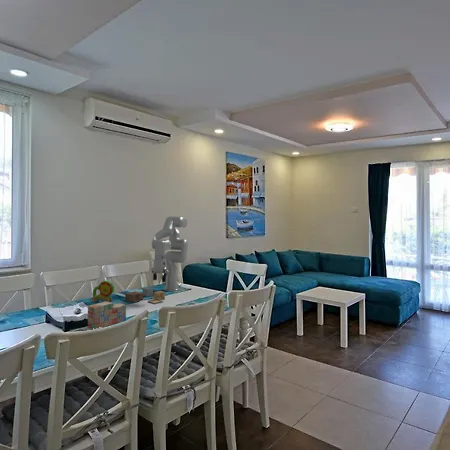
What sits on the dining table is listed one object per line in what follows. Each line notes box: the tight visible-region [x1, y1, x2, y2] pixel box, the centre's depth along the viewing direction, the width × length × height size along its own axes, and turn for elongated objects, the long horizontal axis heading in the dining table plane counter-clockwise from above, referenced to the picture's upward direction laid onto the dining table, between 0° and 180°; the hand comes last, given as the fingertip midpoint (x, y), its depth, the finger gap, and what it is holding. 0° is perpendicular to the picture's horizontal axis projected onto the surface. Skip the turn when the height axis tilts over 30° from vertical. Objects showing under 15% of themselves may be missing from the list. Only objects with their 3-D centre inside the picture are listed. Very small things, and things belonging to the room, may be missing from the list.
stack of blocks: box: [87, 301, 127, 330], centre depth 205 cm, size 21×6×12 cm, turn 145°
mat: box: [147, 299, 164, 305], centre depth 255 cm, size 8×8×1 cm
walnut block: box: [124, 290, 144, 303], centre depth 259 cm, size 9×9×5 cm
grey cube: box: [141, 286, 154, 297], centre depth 274 cm, size 6×6×6 cm
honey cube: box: [153, 290, 166, 301], centre depth 263 cm, size 6×6×6 cm
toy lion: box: [91, 279, 115, 303], centre depth 252 cm, size 16×5×15 cm, turn 74°
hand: (159, 280), depth 262 cm, fingers open, 9 cm apart
